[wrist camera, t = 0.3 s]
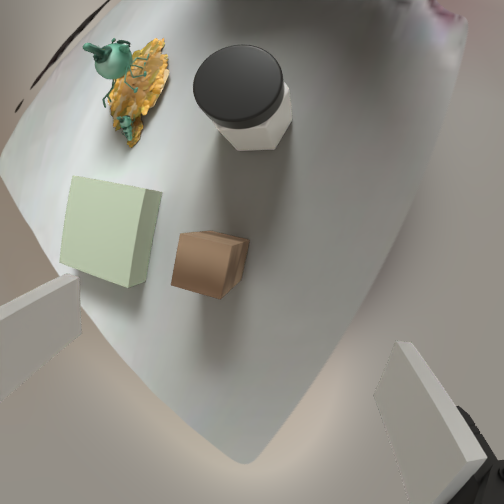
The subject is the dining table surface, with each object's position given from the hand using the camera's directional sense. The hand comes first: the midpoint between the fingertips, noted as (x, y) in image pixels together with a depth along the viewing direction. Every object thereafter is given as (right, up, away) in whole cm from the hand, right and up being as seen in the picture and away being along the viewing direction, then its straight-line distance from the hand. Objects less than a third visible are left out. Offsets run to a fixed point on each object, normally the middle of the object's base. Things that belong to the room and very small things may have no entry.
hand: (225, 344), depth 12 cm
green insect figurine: (-15, +27, +27) cm, 41 cm away
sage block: (-18, +7, +29) cm, 35 cm away
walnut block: (-2, +3, +27) cm, 27 cm away
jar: (+1, +20, +25) cm, 32 cm away
